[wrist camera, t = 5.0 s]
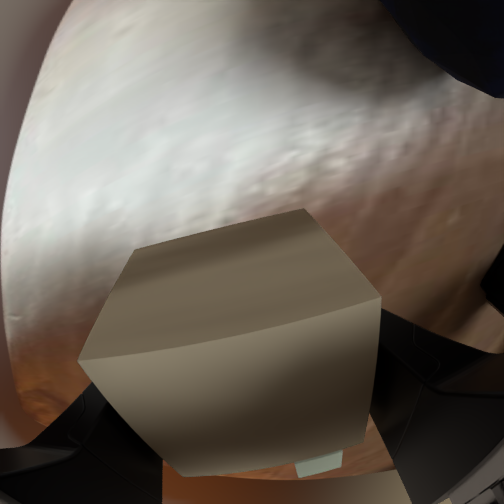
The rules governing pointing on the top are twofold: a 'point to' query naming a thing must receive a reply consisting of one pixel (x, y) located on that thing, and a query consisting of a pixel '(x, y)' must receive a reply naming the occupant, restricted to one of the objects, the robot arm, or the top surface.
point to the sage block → (319, 464)
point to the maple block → (240, 346)
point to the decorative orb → (457, 37)
